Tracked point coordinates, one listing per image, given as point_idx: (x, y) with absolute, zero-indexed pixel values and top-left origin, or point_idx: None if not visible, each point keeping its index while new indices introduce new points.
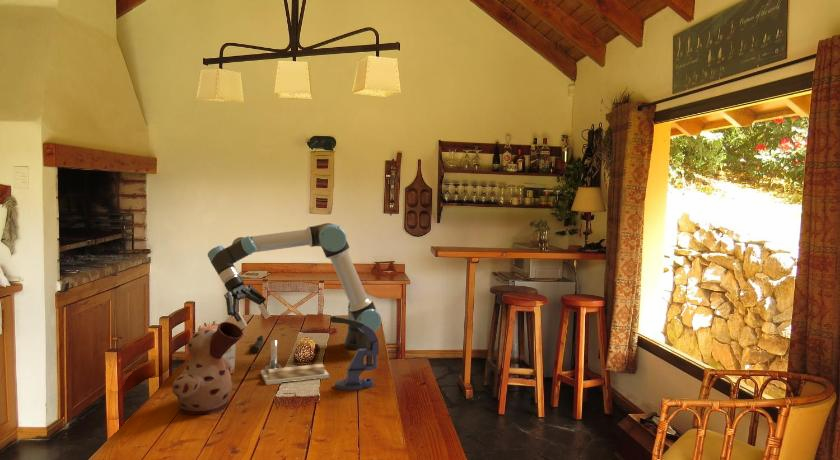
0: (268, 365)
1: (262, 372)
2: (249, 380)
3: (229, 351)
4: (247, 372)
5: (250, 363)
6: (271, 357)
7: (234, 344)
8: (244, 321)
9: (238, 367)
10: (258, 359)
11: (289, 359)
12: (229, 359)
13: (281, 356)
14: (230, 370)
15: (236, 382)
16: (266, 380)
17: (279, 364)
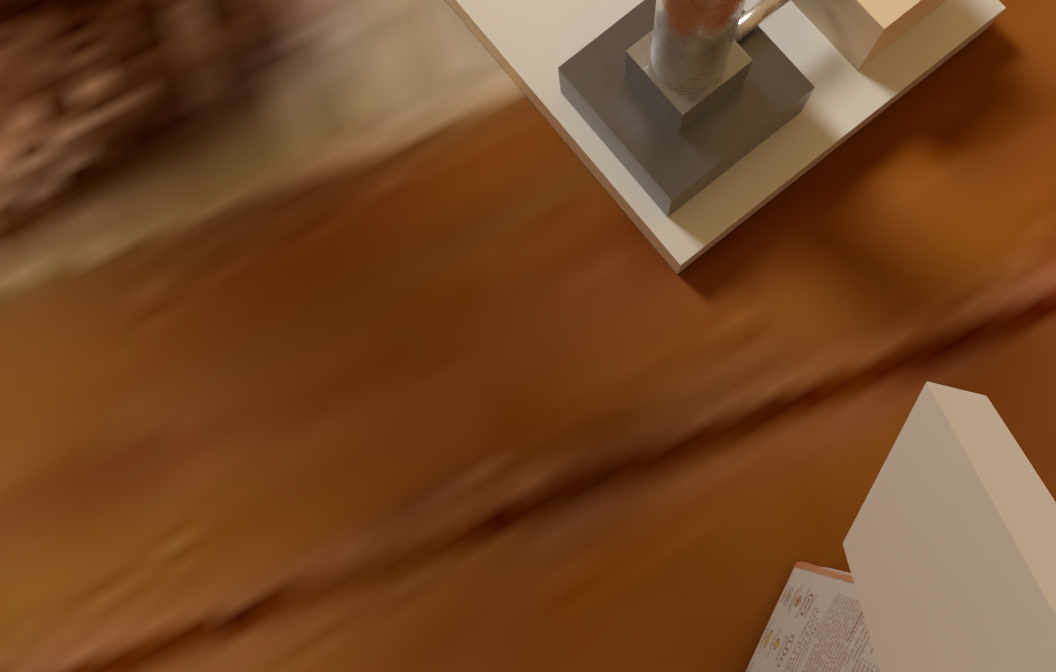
0: (652, 167)
1: (750, 205)
2: (925, 273)
3: None
4: (685, 445)
5: (370, 595)
6: (736, 28)
7: None
8: (1003, 487)
9: (555, 651)
10: (200, 586)
11: (107, 241)
12: None
13: (23, 384)
14: None
15: (1042, 371)
16: (983, 20)
17: (570, 67)
